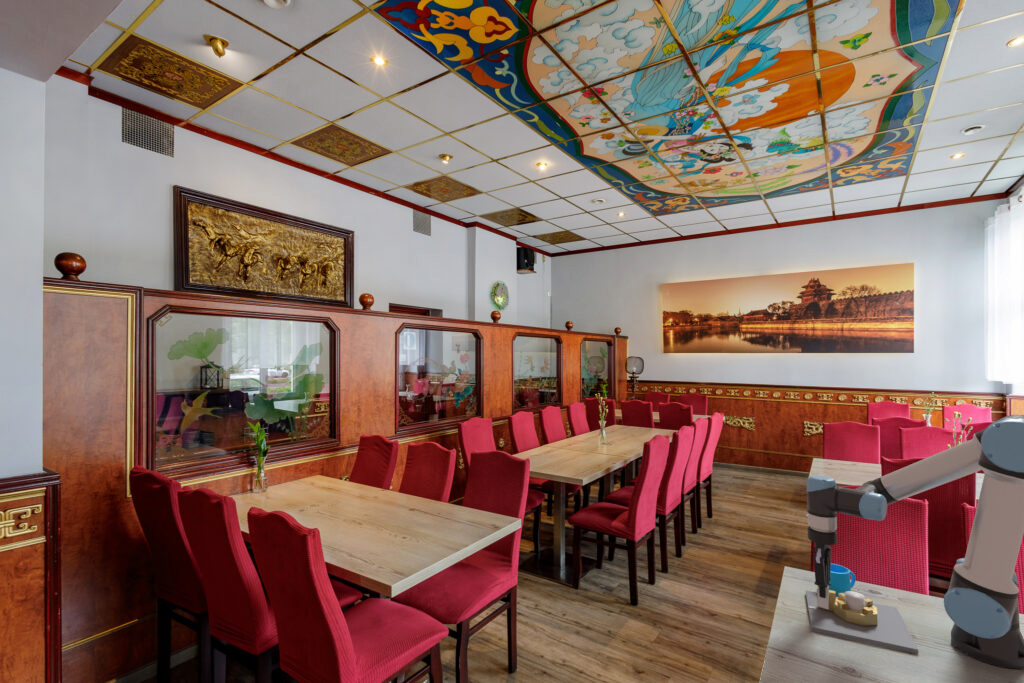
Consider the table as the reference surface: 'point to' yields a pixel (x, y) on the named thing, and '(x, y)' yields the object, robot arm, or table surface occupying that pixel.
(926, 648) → the table surface
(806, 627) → the table surface
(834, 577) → the mug
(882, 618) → the housing plate
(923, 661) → the table surface
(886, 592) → the table surface
